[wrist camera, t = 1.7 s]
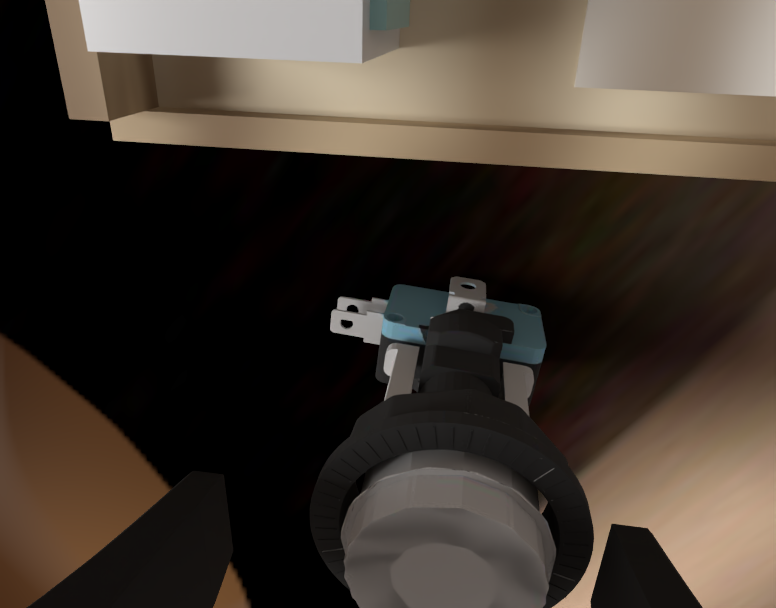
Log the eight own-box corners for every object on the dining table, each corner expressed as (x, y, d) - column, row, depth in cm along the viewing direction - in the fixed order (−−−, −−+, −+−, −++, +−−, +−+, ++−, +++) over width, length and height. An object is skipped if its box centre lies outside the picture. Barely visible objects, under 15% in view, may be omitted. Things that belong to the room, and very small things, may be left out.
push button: (335, 364, 21) (223, 629, 12) (348, 220, 18) (221, 418, 9) (524, 399, 20) (558, 703, 11) (564, 256, 18) (648, 501, 9)
